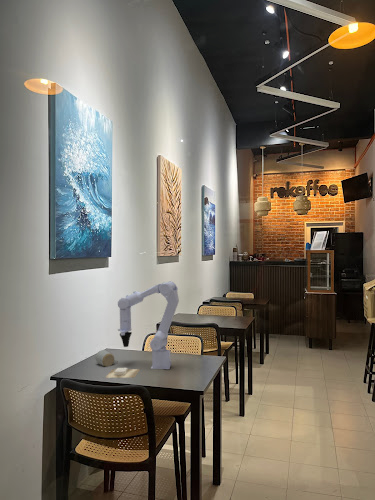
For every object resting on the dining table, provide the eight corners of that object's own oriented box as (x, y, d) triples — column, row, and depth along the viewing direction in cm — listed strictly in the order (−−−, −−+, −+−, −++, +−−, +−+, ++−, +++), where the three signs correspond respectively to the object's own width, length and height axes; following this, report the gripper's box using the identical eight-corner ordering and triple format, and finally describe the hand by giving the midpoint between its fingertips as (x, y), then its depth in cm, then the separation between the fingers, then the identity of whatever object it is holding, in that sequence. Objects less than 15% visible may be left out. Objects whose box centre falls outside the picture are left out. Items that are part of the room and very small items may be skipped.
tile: (127, 367, 197) (124, 371, 191) (127, 371, 197) (124, 375, 191) (117, 367, 198) (114, 371, 191) (117, 371, 198) (114, 375, 191)
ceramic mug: (102, 368, 206) (102, 353, 206) (95, 365, 212) (95, 351, 212) (120, 365, 213) (120, 350, 213) (113, 362, 219) (113, 348, 219)
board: (140, 370, 201) (140, 369, 201) (134, 378, 187) (134, 377, 187) (112, 370, 202) (112, 369, 202) (105, 378, 188) (105, 377, 188)
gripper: (121, 318, 218) (121, 343, 218) (114, 322, 204) (115, 349, 204) (134, 318, 218) (134, 343, 218) (128, 322, 204) (128, 349, 203)
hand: (126, 346), depth 211 cm, fingers closed
